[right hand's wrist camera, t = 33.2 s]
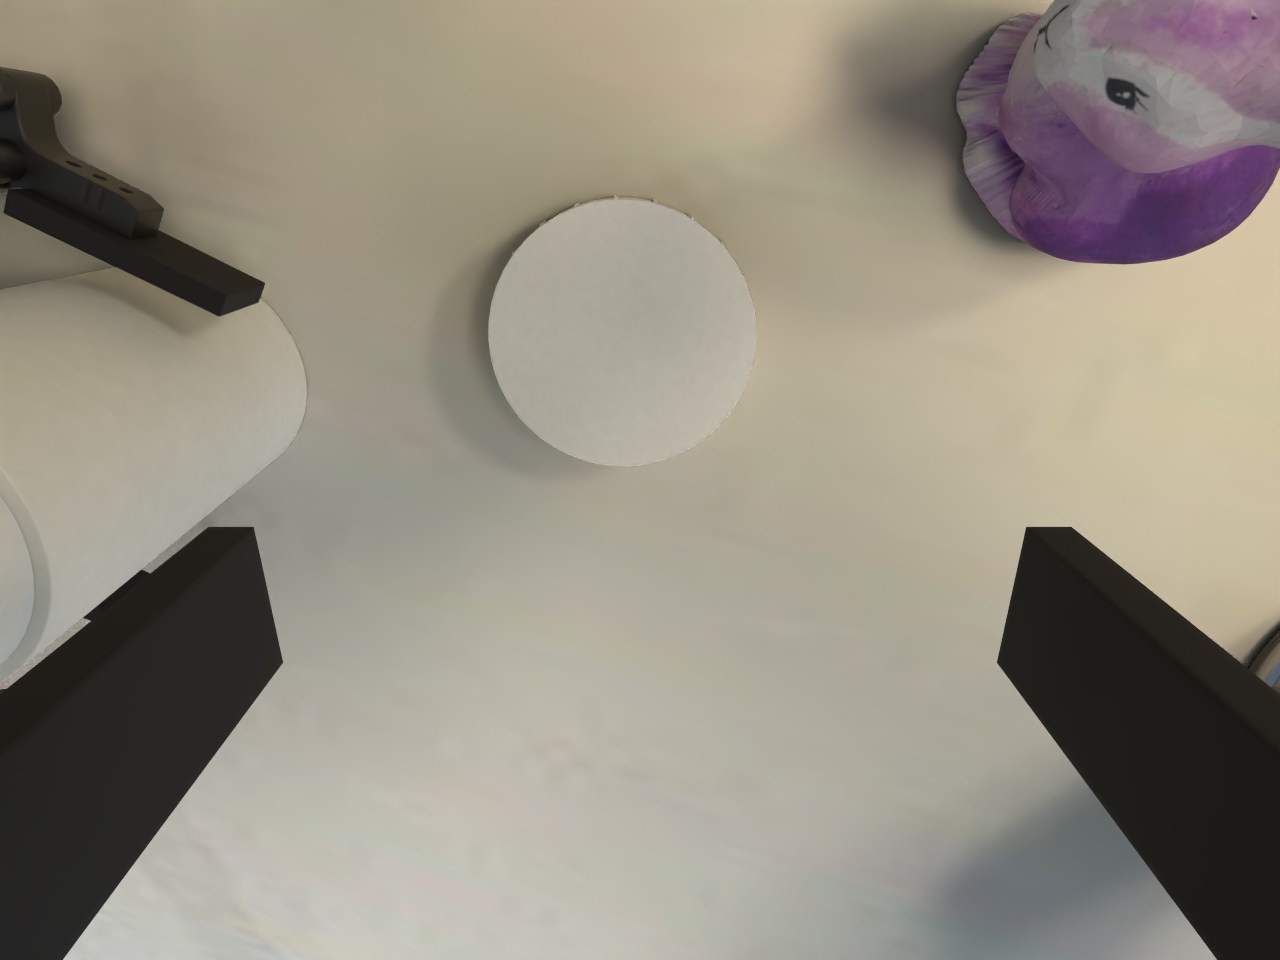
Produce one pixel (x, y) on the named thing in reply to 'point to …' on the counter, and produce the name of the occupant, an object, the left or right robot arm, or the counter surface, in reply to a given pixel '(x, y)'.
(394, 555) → the counter surface
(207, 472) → the jar
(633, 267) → the lid
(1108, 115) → the figurine
